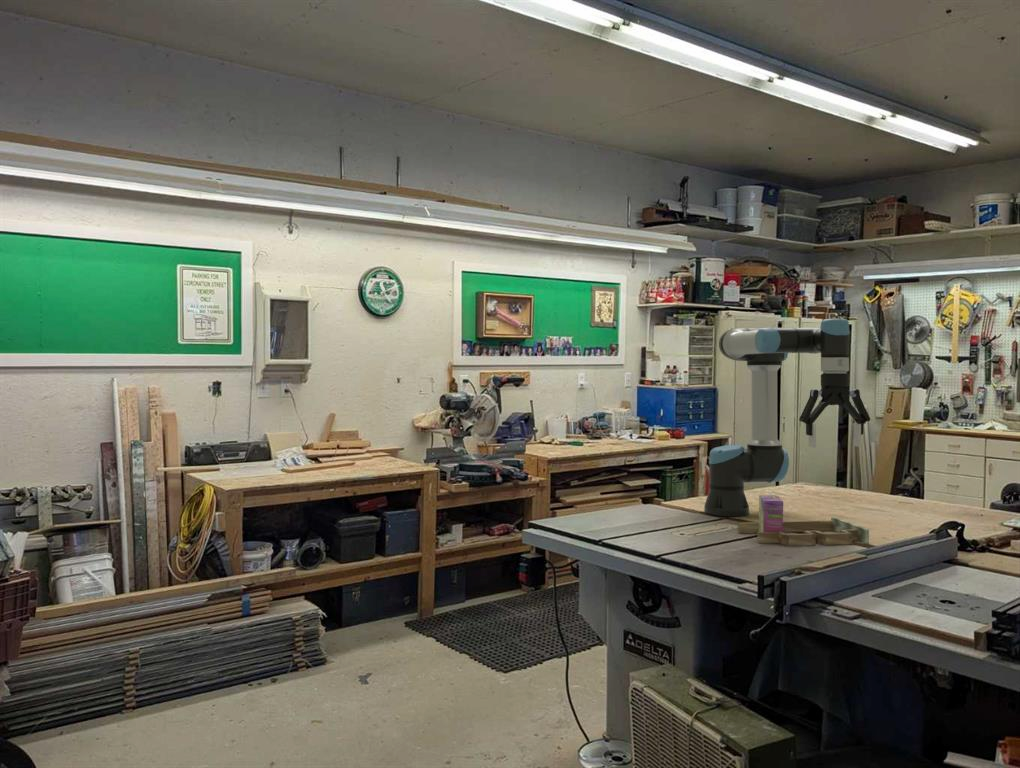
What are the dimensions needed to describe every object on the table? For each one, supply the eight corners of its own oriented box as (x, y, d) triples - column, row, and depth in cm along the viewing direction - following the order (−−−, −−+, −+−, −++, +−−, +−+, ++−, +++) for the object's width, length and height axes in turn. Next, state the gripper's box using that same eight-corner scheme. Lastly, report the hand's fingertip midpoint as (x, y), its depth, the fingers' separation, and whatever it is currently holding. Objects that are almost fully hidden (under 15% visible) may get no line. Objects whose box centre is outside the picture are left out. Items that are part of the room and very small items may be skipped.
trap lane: (738, 532, 236) (738, 519, 235) (834, 529, 239) (834, 517, 239) (764, 546, 217) (764, 532, 217) (868, 543, 220) (868, 529, 220)
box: (783, 541, 223) (783, 500, 223) (762, 540, 224) (762, 500, 224) (778, 534, 233) (778, 495, 233) (758, 533, 234) (758, 494, 234)
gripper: (799, 372, 215) (799, 448, 215) (883, 372, 218) (883, 447, 218) (787, 372, 222) (787, 445, 223) (868, 372, 225) (868, 444, 226)
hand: (834, 446), depth 220 cm, fingers open, 13 cm apart
